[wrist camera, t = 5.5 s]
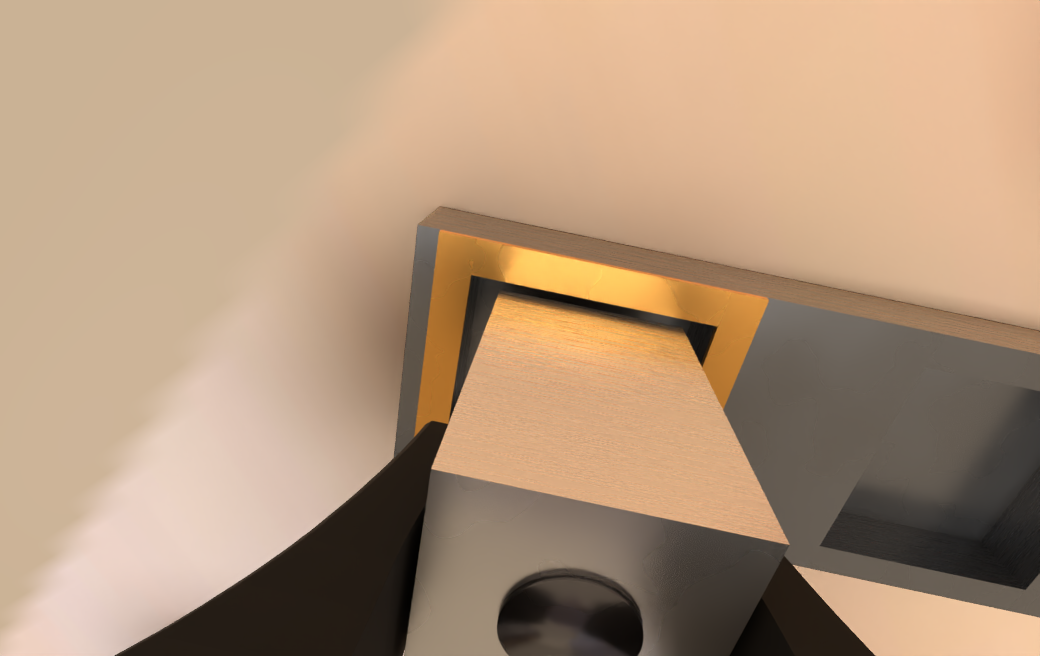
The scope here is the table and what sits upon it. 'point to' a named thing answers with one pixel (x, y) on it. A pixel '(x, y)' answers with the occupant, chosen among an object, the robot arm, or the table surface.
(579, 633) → the silver square slider
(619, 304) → the rail
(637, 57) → the table surface
